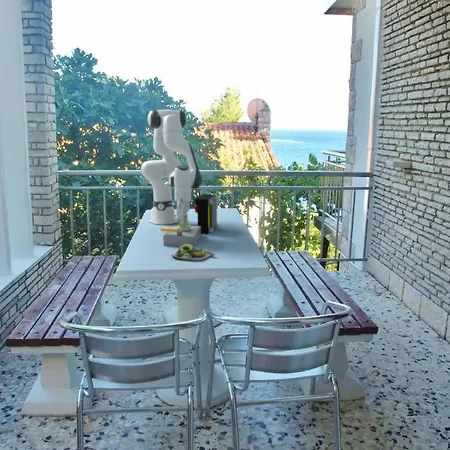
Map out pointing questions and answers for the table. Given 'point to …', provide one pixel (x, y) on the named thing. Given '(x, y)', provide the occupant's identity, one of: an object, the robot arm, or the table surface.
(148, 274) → the table surface
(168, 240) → the grey flat block
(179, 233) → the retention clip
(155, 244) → the table surface
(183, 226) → the plug
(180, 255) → the salad plate
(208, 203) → the electrical component
